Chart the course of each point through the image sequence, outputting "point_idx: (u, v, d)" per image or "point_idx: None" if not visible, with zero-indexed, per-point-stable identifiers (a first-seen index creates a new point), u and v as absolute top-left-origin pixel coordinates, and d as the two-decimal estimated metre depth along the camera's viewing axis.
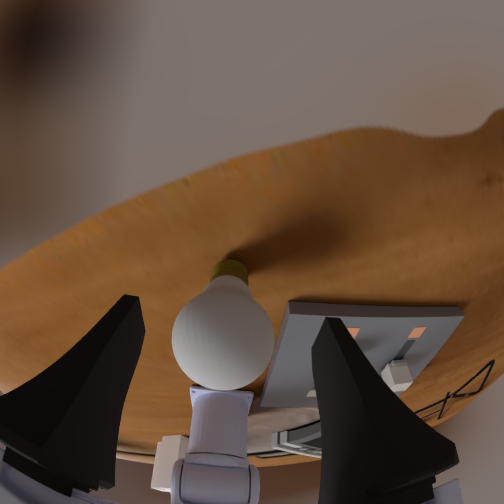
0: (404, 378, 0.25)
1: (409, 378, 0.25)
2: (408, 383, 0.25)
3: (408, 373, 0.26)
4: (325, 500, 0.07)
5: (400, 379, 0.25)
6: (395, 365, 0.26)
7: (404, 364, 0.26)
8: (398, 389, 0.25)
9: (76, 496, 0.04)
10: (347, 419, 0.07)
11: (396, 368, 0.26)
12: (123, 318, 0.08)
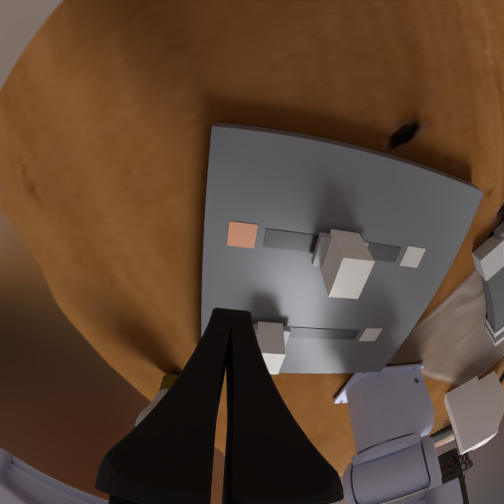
0: (334, 266, 0.14)
1: (338, 256, 0.14)
2: (342, 267, 0.14)
3: (336, 248, 0.14)
4: (222, 503, 0.06)
5: (331, 276, 0.15)
6: (319, 260, 0.16)
7: (324, 242, 0.16)
8: (358, 280, 0.14)
9: (76, 496, 0.04)
10: (230, 419, 0.07)
11: (325, 260, 0.16)
12: (228, 333, 0.09)
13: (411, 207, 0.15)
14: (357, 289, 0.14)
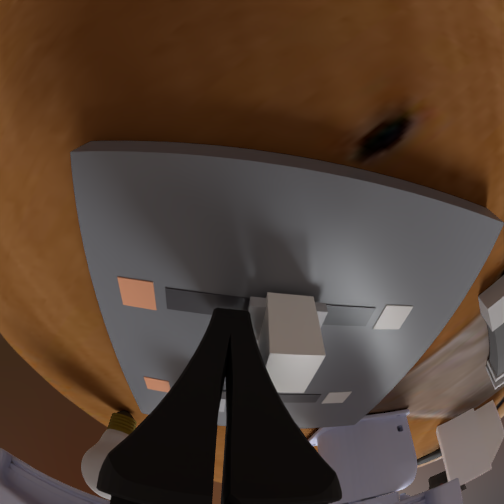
0: (264, 355, 0.09)
1: (267, 344, 0.09)
2: (270, 363, 0.09)
3: (267, 328, 0.09)
4: (221, 503, 0.06)
5: None
6: None
7: (256, 312, 0.10)
8: (301, 375, 0.09)
9: (76, 496, 0.04)
10: (229, 419, 0.07)
11: (259, 335, 0.11)
12: (229, 334, 0.09)
13: (392, 253, 0.10)
14: (301, 384, 0.09)
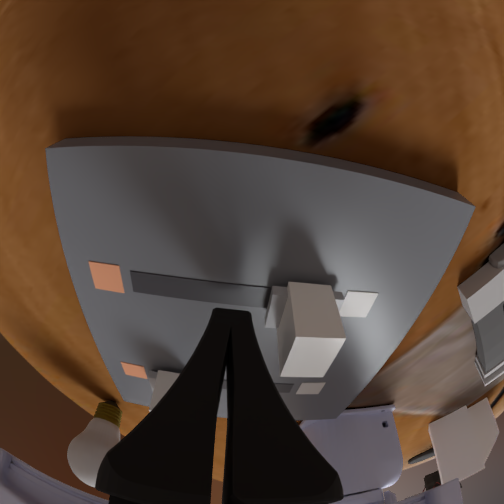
0: (288, 340, 0.10)
1: (292, 329, 0.10)
2: (295, 347, 0.09)
3: (290, 314, 0.10)
4: (222, 503, 0.06)
5: (284, 351, 0.10)
6: (273, 322, 0.12)
7: (278, 300, 0.11)
8: (322, 359, 0.10)
9: (76, 496, 0.04)
10: (230, 419, 0.07)
11: (280, 323, 0.12)
12: (228, 333, 0.09)
13: (347, 236, 0.10)
14: (321, 368, 0.10)
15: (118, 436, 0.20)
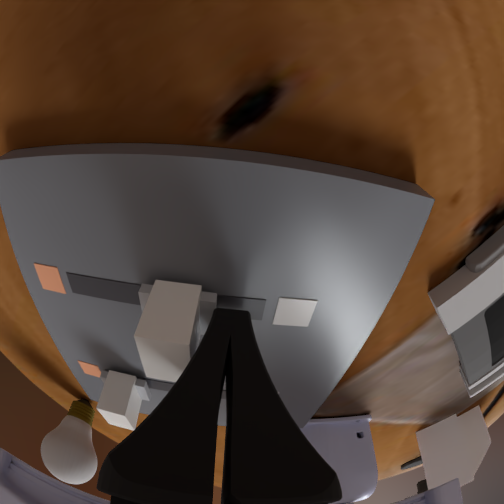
0: None
1: (140, 328, 0.09)
2: (140, 347, 0.08)
3: None
4: (221, 503, 0.06)
5: None
6: None
7: (146, 298, 0.10)
8: (177, 364, 0.09)
9: (76, 496, 0.04)
10: (229, 419, 0.07)
11: None
12: (229, 333, 0.09)
13: (266, 237, 0.10)
14: None
15: (89, 434, 0.19)
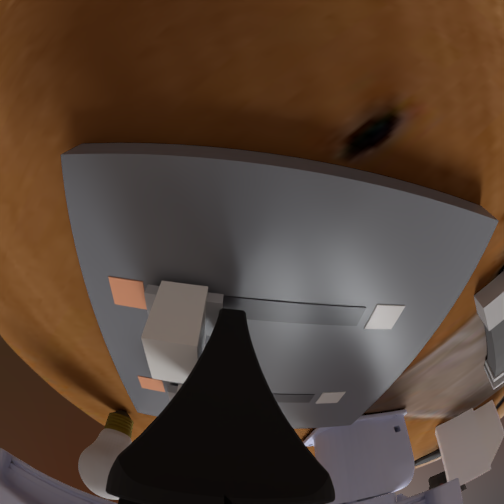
0: None
1: (147, 330, 0.09)
2: (147, 349, 0.08)
3: None
4: None
5: None
6: None
7: (151, 299, 0.10)
8: (184, 366, 0.09)
9: (76, 496, 0.04)
10: None
11: None
12: (236, 334, 0.09)
13: (381, 252, 0.10)
14: None
15: None
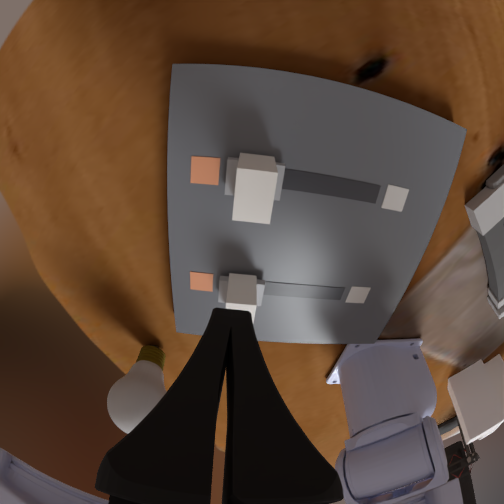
0: None
1: None
2: (239, 180, 0.12)
3: None
4: (222, 503, 0.06)
5: None
6: (230, 188, 0.15)
7: (232, 165, 0.14)
8: (263, 197, 0.13)
9: (76, 496, 0.04)
10: (230, 419, 0.07)
11: None
12: (228, 333, 0.09)
13: (385, 139, 0.14)
14: (265, 210, 0.13)
15: (162, 378, 0.24)
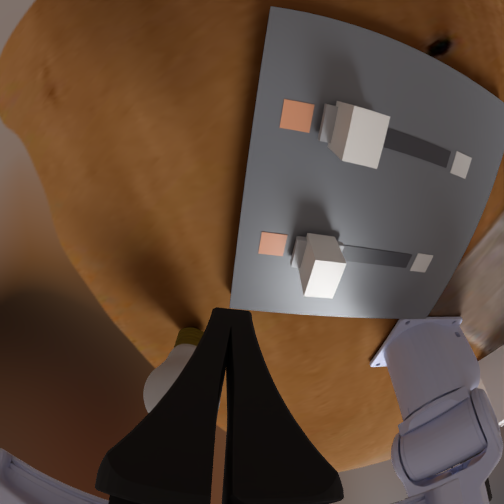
0: (345, 125, 0.11)
1: (348, 111, 0.11)
2: (354, 119, 0.11)
3: (344, 108, 0.11)
4: (222, 503, 0.06)
5: (343, 137, 0.12)
6: (326, 134, 0.13)
7: (331, 111, 0.12)
8: (375, 139, 0.11)
9: (76, 495, 0.04)
10: (230, 419, 0.07)
11: (333, 132, 0.13)
12: (228, 333, 0.09)
13: (456, 109, 0.12)
14: (375, 153, 0.11)
15: None
